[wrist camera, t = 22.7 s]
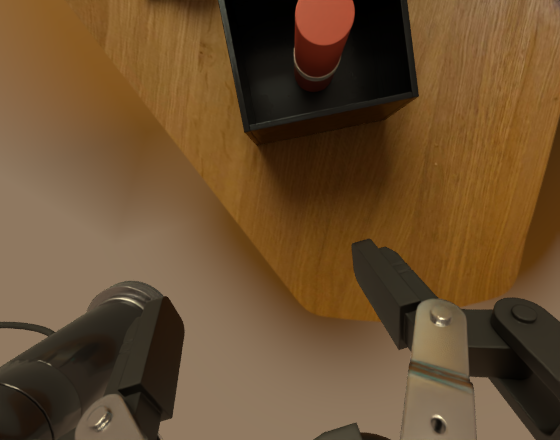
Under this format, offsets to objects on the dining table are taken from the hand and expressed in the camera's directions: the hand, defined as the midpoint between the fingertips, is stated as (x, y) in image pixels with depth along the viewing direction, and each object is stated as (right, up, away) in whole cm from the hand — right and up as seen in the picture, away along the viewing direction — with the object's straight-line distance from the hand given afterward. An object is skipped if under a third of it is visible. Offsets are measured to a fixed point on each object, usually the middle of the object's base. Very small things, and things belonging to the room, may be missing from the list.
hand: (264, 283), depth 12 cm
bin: (+5, +22, +24) cm, 32 cm away
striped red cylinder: (+5, +22, +23) cm, 32 cm away
